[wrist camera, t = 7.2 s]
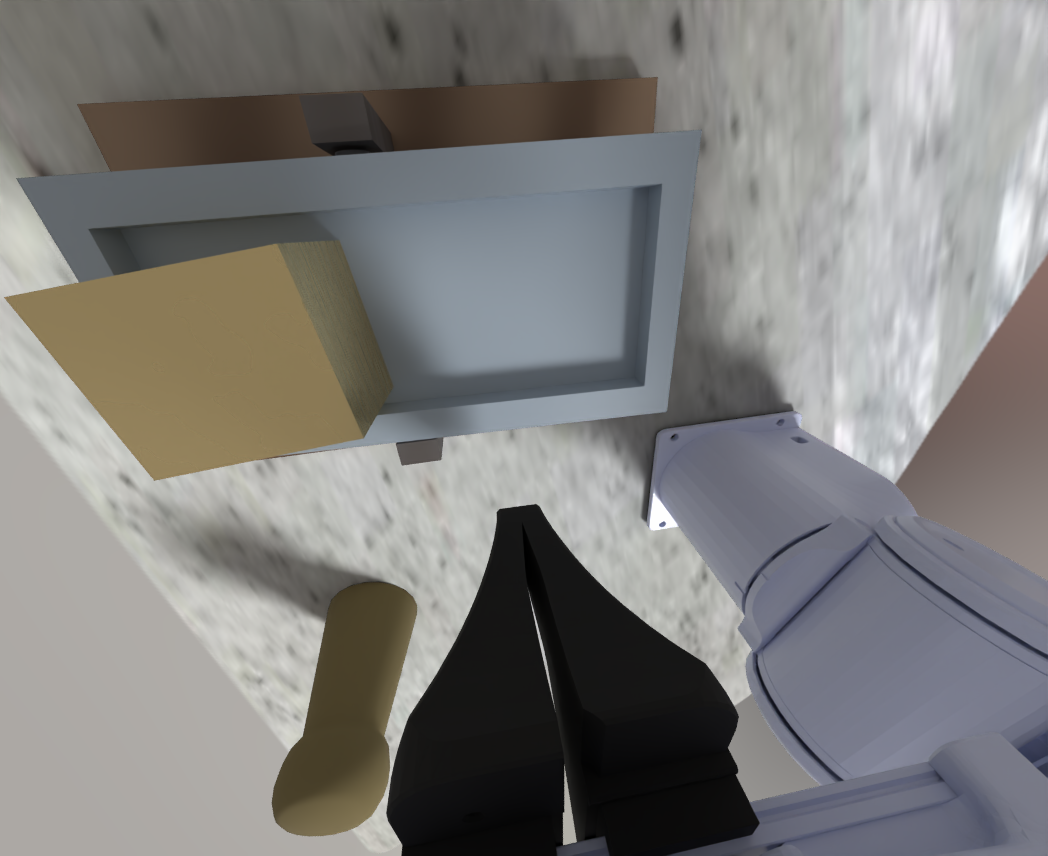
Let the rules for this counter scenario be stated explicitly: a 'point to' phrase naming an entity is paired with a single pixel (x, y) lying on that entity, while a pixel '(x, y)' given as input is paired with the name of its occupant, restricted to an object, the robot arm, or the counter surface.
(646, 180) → the beam
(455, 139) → the stand
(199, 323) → the block
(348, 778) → the cork
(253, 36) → the counter surface
